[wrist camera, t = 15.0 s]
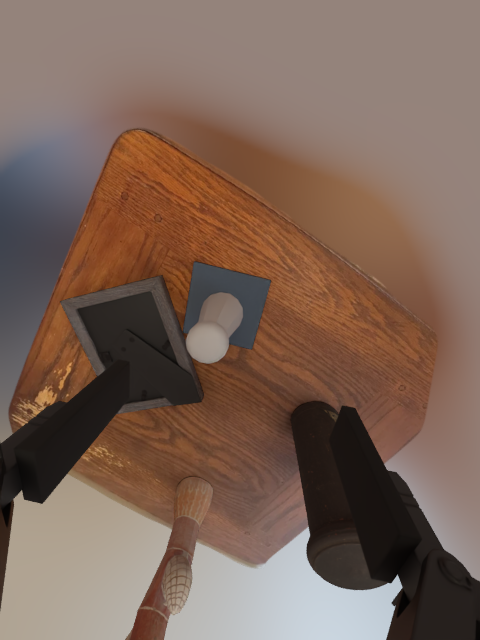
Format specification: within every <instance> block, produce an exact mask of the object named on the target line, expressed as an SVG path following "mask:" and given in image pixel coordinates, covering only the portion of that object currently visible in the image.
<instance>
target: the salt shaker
mask: <svg viewBox="0 0 480 640" xmlns="http://www.w3.org/2000/svg"><path fill="white" fill-rule="evenodd" d="M242 318H243V308H242V306H241V304H240V303H239V301H238V299H236V298H235V297H234V296H232V295H231V294H229V293H222V292H220V293H216V294H212V295H210V296H209V297H208V298H207V299H206V300H205V301H204V303H203V305H202V308H201V312H200V316H199V321H198V323H197V324H196V325H194V326H193V327H192V328H191V329H190V330H189V333H188V336H187V338H186V347H187V351H188V352H189V354H190V355H191V357H192V358H194V359H196V360H197V361H199V362H202V363H207V364H210V363H214V362H217V361H219V360H220V359H221V358H222V357H224V355H225V354H226V352H227V349H228V347H229V337H230V336H231V335H232V334H233V332H234V331H235V330H236V329H237V328H238V327H239V326H240V323H241V321H242Z"/></svg>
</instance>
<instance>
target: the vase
mask: <svg viewBox="0 0 480 640" xmlns="http://www.w3.org/2000/svg"><path fill="white" fill-rule="evenodd" d="M212 495H213V488H212V487H211V485H210V484H209V482H207V481H205V480H203V479H202V478H198V477H188V478H185V479H183V480H182V481H181V482H180V483H179V485H178V486H177V491H176V495H175V500H174V525H173V529H172V532H171V536H170V539H169V542H168V546H167V550H166V553H165V555H164V557H163V559H162V561H161V563H160V566H159V568H158V570H157V572H156V574H155V576H154V578H153V581H152V583H151V585H150V587H149V589H148V591H147V593H146V595H145V597H144V599H143V601H142V603H141V606H140V607H139V609H138V612H137V616H136V619H135V623H134V626H133V629H132V630H131V632H130V634H129V635H128V636H127V638H126V639H125V640H164V636H165V631H166V627H167V623H168V619H169V616H170V614H172V615H175V614H177V613H179V612H180V611H181V609H182V608H183V606H184V605H185V602H186V600H187V598H188V595H189V591H190V588H191V584H192V569H191V564H192V560H193V555H194V550H195V544H196V540H197V535H198V532H199V528H200V525H201V523H202V521H203V520H204V518H205V516H206V514H207V512H208V510H209V507H210V504H211V500H212Z"/></svg>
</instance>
